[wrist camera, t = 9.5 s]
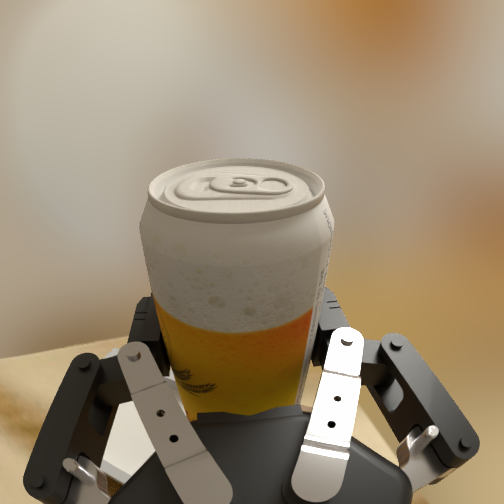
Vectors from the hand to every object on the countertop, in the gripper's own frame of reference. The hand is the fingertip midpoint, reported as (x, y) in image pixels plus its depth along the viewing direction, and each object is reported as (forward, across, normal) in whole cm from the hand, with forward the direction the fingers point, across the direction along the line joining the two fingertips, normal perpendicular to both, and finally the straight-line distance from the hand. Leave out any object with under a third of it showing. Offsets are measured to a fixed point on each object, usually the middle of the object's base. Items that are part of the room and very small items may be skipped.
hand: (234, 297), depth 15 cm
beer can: (-2, 0, +9) cm, 9 cm away
